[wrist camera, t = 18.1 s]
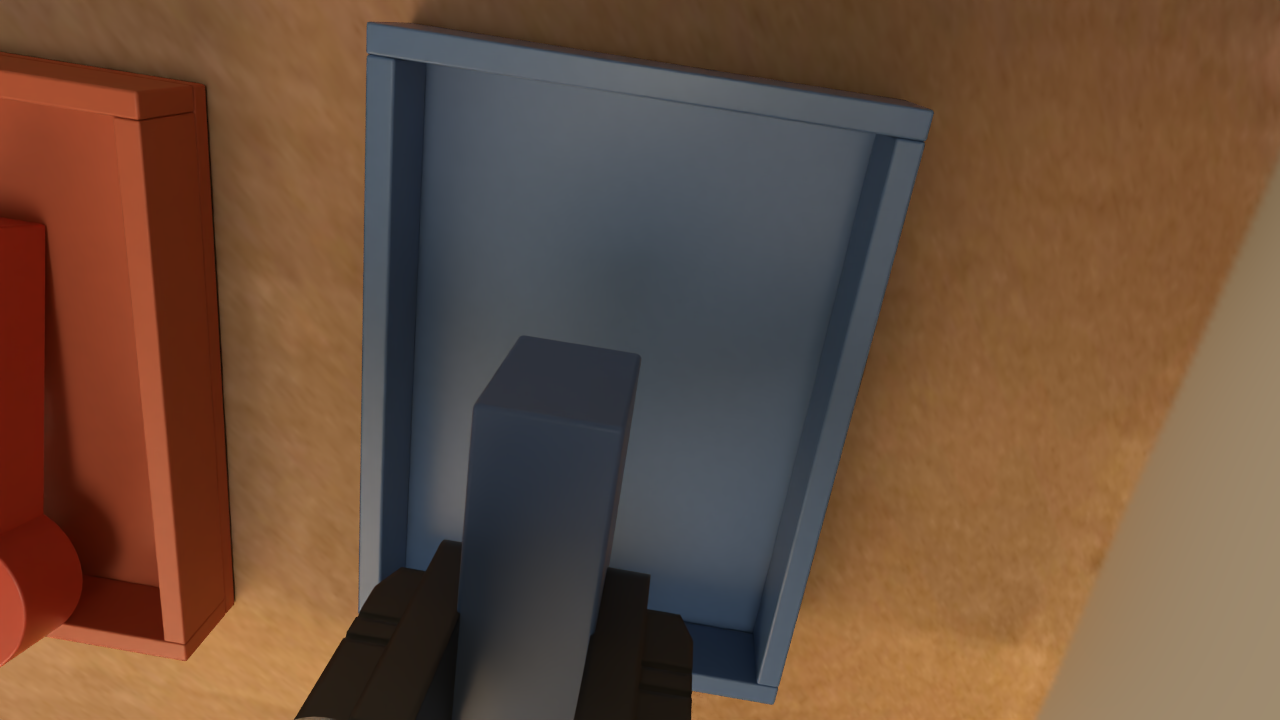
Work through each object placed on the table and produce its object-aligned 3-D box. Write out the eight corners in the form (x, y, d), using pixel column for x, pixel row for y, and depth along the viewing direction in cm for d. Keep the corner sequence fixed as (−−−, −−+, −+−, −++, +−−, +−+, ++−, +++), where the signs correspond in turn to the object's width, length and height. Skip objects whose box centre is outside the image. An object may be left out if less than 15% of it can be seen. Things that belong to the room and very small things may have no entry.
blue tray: (409, 22, 18) (365, 21, 16) (906, 100, 18) (935, 110, 16) (390, 576, 24) (357, 633, 22) (768, 640, 24) (773, 705, 22)
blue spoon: (445, 320, 12) (378, 388, 9) (717, 364, 12) (720, 445, 9) (410, 877, 16) (356, 1024, 14) (612, 912, 16) (595, 1067, 13)
